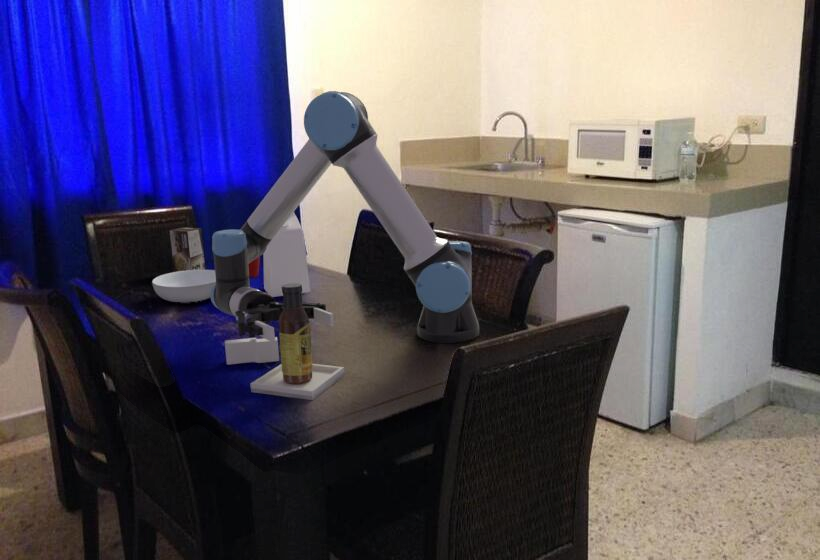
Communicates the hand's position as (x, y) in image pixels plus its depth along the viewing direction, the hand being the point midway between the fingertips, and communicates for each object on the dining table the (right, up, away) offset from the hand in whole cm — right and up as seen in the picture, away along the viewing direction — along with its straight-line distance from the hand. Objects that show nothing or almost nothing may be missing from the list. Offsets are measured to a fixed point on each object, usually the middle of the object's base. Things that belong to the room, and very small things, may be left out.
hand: (303, 327), depth 147 cm
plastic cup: (-33, +11, +103) cm, 109 cm away
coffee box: (-54, +11, +107) cm, 121 cm away
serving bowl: (-45, +3, +75) cm, 88 cm away
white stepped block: (-14, -10, +20) cm, 26 cm away
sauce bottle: (-2, -11, +5) cm, 13 cm away
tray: (-2, -12, +6) cm, 13 cm away
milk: (-17, +6, +82) cm, 84 cm away
